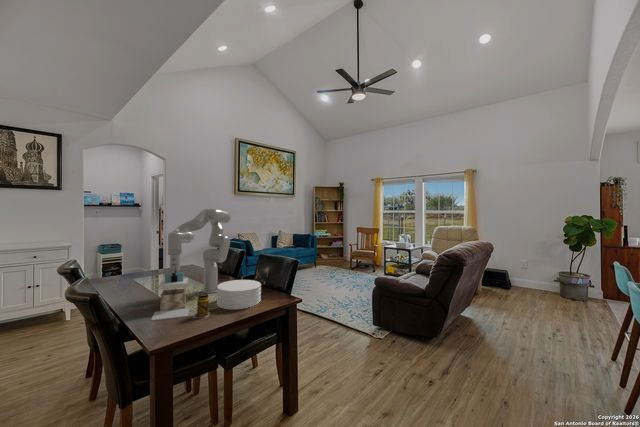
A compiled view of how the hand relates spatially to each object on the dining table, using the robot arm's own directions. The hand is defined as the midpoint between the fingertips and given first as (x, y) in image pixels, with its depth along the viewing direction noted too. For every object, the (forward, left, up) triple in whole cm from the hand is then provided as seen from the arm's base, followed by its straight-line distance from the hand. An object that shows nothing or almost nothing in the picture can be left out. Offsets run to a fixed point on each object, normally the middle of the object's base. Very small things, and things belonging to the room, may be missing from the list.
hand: (174, 280), depth 171 cm
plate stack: (-39, +5, -16) cm, 43 cm away
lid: (0, 0, -2) cm, 2 cm away
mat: (0, +15, -16) cm, 22 cm away
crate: (0, 0, -16) cm, 16 cm away
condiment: (-16, +22, -16) cm, 32 cm away
